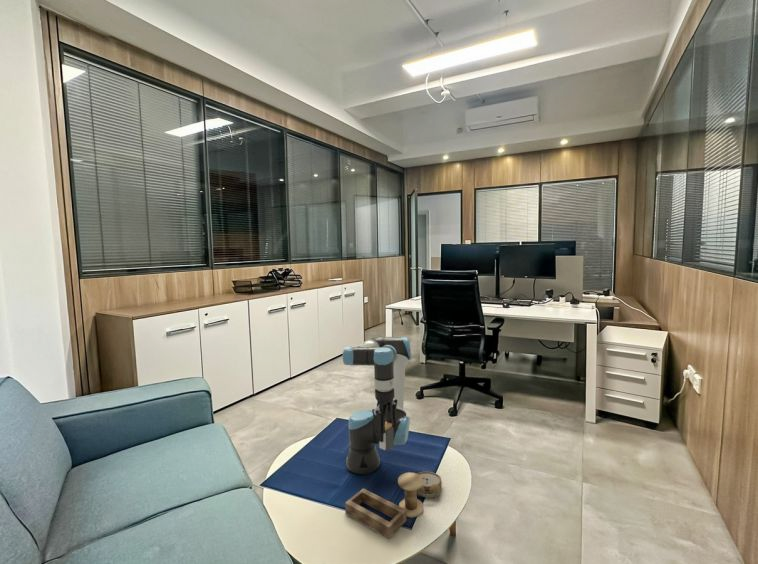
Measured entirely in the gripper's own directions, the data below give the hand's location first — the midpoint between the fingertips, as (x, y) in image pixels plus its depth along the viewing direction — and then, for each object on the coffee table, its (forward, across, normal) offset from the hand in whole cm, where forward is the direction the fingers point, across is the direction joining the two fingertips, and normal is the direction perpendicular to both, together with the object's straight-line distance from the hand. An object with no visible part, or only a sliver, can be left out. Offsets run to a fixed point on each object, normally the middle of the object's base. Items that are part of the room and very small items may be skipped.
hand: (386, 445), depth 142 cm
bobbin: (+18, -3, -13) cm, 23 cm away
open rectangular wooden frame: (+18, -14, -5) cm, 24 cm away
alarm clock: (+19, +9, -12) cm, 24 cm away
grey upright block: (0, 0, 0) cm, 0 cm away
